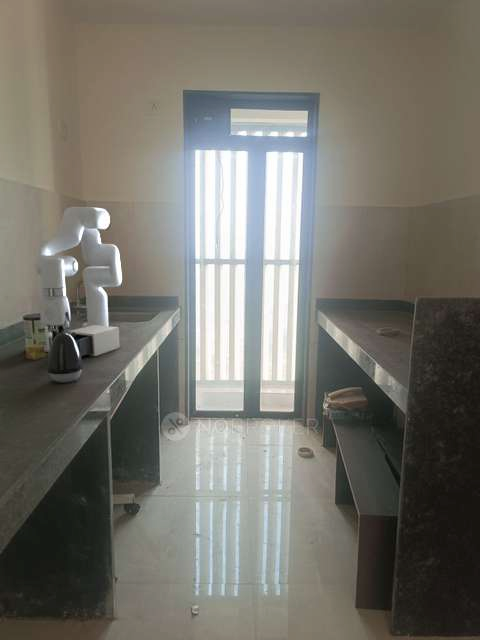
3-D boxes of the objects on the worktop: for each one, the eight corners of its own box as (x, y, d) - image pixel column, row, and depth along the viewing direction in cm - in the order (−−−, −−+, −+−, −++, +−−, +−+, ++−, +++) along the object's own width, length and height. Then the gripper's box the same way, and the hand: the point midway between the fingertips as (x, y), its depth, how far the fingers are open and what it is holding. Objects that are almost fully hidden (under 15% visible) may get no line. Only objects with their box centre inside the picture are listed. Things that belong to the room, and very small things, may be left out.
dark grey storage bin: (64, 363, 145) (63, 344, 144) (40, 359, 149) (38, 341, 148) (102, 350, 162) (101, 333, 161) (79, 347, 167) (78, 331, 165)
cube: (26, 358, 154) (25, 346, 153) (36, 355, 158) (35, 344, 157) (35, 359, 152) (34, 347, 151) (45, 356, 156) (44, 345, 155)
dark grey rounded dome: (90, 377, 133) (88, 330, 130) (67, 387, 124) (64, 337, 121) (65, 373, 136) (62, 328, 134) (40, 383, 127) (36, 334, 124)
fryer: (94, 356, 158) (93, 334, 156) (69, 352, 162) (67, 331, 161) (119, 347, 171) (118, 327, 169) (95, 344, 176) (94, 324, 174)
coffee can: (41, 345, 173) (39, 312, 170) (59, 348, 169) (57, 314, 166) (19, 351, 164) (16, 316, 161) (38, 354, 159) (35, 318, 157)
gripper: (29, 292, 145) (34, 343, 148) (62, 295, 139) (66, 348, 143) (47, 290, 152) (50, 338, 155) (78, 292, 146) (81, 343, 150)
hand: (58, 343), depth 149 cm, fingers closed
